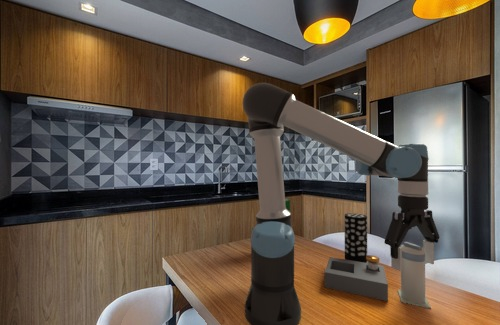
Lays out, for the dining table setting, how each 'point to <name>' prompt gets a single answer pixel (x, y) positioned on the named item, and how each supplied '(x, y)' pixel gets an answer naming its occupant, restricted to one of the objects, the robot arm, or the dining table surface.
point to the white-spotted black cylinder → (356, 237)
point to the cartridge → (413, 273)
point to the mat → (414, 303)
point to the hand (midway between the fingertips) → (413, 265)
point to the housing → (356, 278)
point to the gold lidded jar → (372, 262)
